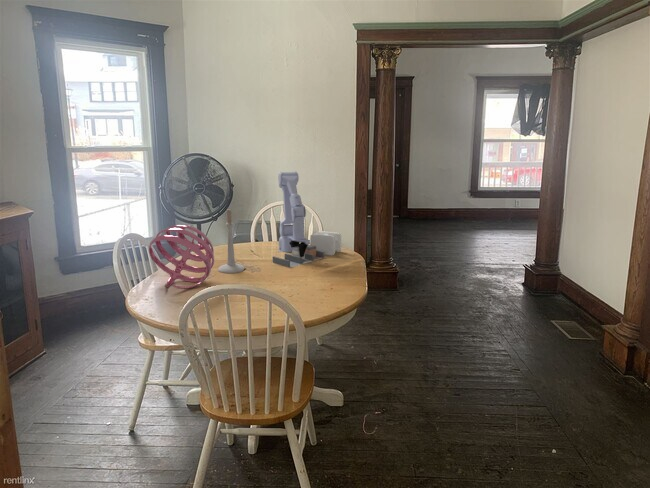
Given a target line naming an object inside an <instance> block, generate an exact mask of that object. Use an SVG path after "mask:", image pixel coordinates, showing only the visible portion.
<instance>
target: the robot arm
mask: <svg viewBox="0 0 650 488" xmlns="http://www.w3.org/2000/svg"><path fill="white" fill-rule="evenodd" d="M299 177H300V176H299V173H298V172H297V171H285V172H284V171H283V172H282V171H280V172H279V173H278V179H277V180H278V187H279V188H280V189H282V200H283V213H284V214H283V215H284V218H283V219H282V220H281V221H280V222H279V228H278V229H279V230H278V231H279V235H280V237H279V238H278V250H277V252H278V253H280V252H284V253H292V247H296V246H298V247H299V251H300V257H304V254H305V250H306V248H307V246H308V245H310V239H307V238H306V237H305V217H306V216H307V211H306V210H307V209H306V206H305V205H304V204H303V202H302V198H301V195H300V194H298V188H297V185H298V183H299Z"/></svg>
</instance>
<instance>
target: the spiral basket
mask: <svg viewBox="0 0 650 488" xmlns="http://www.w3.org/2000/svg"><path fill="white" fill-rule="evenodd" d="M186 229H187V230H186ZM189 230H191V231H192V232H191V231H189ZM172 232H173V233H174V232H175V233H177V236H176V235H172ZM193 232H195V233H197V234H198V235H199V236H201V237H203V238H204V239H202V238H201V237H199V236H198V235H197V234H195V233H193ZM163 233H165V234H163ZM162 234H163V235H162ZM186 236H188V238H189V237H190V238H191V239H192V240H191V241H190V240H189V239H188V238H187V237H186ZM161 241H166V243H168V245H169V246H170V247H171V249H172V250H173V251H175V252H176V253H177V254H179V255H180V256H181V259H180V260H178V259H176V258H175V257H174V256H172V255H171V254H170V253H168V251H167V250H166V249H165V248H164V246H163V245H162V242H161ZM195 241H196V242H197V243H195ZM153 244H155V246H156V249H157V250H158V251H159V254H161V255H162V256H163V258H164V259H166V260H167V261H168V262H170V263H171V264H172V265H174V266H175V269H172V268H169V267H168V266H166V265H165V264H164V263H163V262H162V261H161V260H160V259H159V258H158V257H157V256H156V254H155V252H154V250H153ZM177 244H179V245H181V246H183V247H185V248H187V249H185V250H184V249H183V248H181V247H180V246H179V245H177ZM191 251H192V252H193V253H195V254H193V253H192V252H191ZM203 251H205V253H204V252H203ZM214 251H215V250H214V246H213V244H212V242H211V240H210V239H209V238H208V237H207V235H206V234H205V233H204V232H202V231H201V229H198V228H196V227H194V226H190V225H187V224H185V225H184V224H175V225H171V226H169V227H166V228H164V229H162V230H160V231H159V232H158V233H157V234H156V235H155V237H154V238H153V239H152V240H151V241H150V243H149V245H148V252H149V257H150V258H151V259H152V261H153V263H154V264H156V265H157V266H158V267H159V268H160V269H161V270H162V271H163V272H165V273H166V274H168V275H169V279H168V281H167V282H166V283H165V284H164V287H165V288H169V287H170V286H172V288H175V289H179V290H190V289H193V288H196V287H198V286H199V285H201V284H202V283H203V282H204V281H205V280H206V279H207V278H208V277H209V276H210V274H211V272H212V269H213V267H214V265H215V253H214ZM188 260H191V261H195V262H201V263H202V262H203V263H204V265H205V266H202V267H197V266H193V265H188V264H187V261H188ZM182 271H186V272H191V273H197V274H200V273H201V274H202V273H204V274H203V276H202V277H192V276H191V277H190V276H186V275H185V274H184V275H183V274H181V272H182ZM176 280H181V281H184V282H188V281H189V282H190V283H195V284H193V285H190V286H179V285H176V284H173V283H175V281H176Z"/></svg>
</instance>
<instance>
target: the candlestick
mask: <svg viewBox="0 0 650 488" xmlns="http://www.w3.org/2000/svg"><path fill="white" fill-rule="evenodd" d="M226 217H227V218H226V219H227V222H226V223H225V225H226V227H227V229H228V230H227V263H225V264H222V265H221V266H218V268H217V271H218V272H219V273H222V274H237V273H241V272H243V271H245V270H246V267H244V265H243V264H240V263H236V258H235V249H234V240H233V230H232V229H233V225H234V223H233V222H232V220H233V219H232V209H230V208H227V209H226Z"/></svg>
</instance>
